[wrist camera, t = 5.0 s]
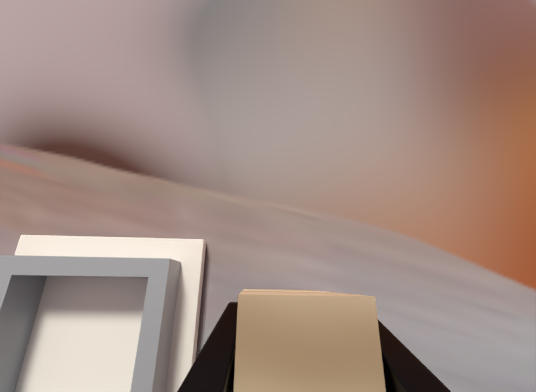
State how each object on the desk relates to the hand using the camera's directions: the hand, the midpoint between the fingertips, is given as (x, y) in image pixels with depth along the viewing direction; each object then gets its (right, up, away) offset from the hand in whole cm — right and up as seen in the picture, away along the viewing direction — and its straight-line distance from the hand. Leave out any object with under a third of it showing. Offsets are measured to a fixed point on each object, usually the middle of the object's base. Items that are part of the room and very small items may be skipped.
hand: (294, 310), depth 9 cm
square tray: (-11, -5, +7) cm, 14 cm away
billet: (-1, -3, +6) cm, 7 cm away
